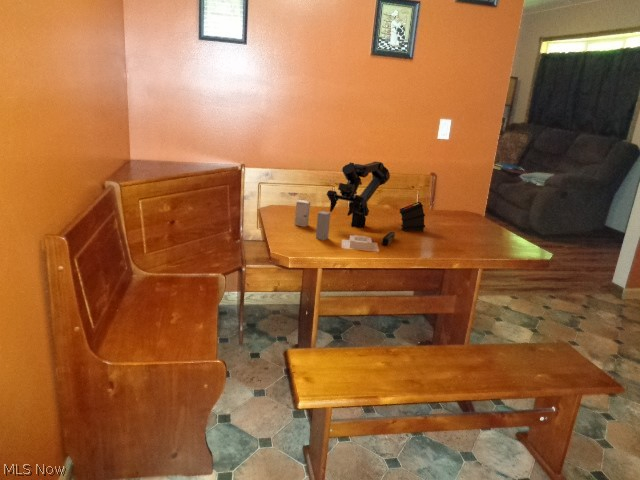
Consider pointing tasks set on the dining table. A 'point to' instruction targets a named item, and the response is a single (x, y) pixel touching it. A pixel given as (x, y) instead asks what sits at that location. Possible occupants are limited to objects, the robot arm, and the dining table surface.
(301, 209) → the skincare box
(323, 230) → the plug
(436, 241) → the dining table surface
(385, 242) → the mobile phone
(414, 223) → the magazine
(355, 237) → the white flat stepped block
